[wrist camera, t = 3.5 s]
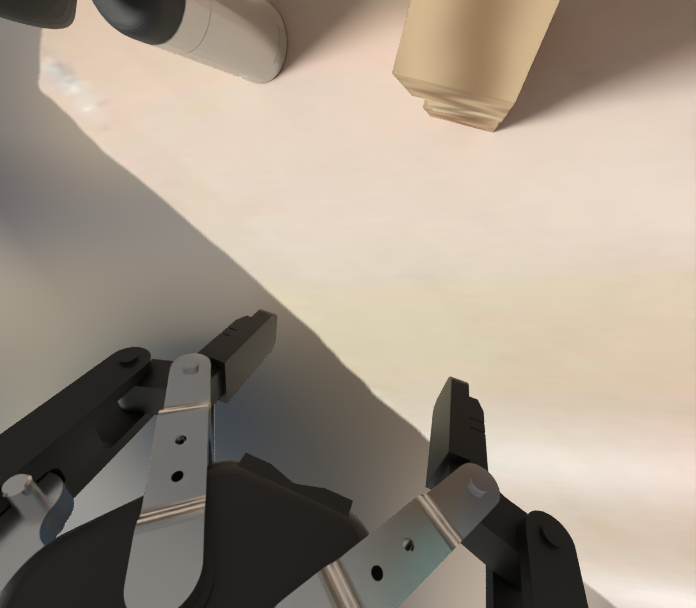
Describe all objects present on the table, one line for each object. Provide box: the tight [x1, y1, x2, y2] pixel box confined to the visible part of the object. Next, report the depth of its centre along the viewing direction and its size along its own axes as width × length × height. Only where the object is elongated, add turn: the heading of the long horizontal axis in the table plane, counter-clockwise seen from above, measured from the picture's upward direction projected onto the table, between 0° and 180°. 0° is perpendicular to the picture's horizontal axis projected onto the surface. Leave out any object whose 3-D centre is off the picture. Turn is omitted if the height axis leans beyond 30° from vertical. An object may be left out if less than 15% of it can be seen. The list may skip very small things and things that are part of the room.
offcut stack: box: [392, 0, 560, 132], centre depth 26 cm, size 8×12×22 cm
